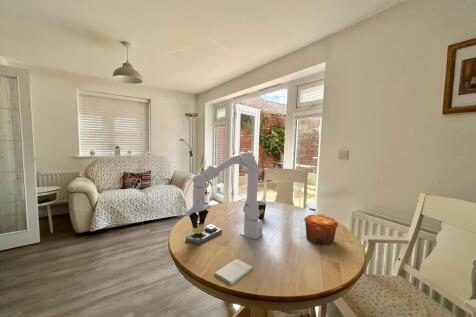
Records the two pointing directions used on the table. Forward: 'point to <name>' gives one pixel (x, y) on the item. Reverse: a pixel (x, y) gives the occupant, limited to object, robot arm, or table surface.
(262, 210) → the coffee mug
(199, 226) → the tan wooden cube
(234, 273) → the external hard drive
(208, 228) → the cube with domed knob
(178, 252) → the table surface
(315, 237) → the food container
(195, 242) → the grey rectangular slotted frame
